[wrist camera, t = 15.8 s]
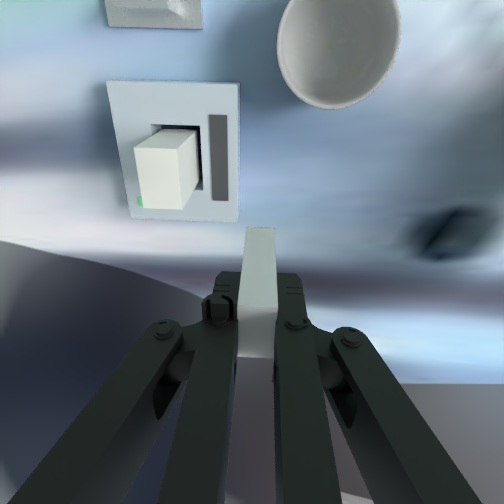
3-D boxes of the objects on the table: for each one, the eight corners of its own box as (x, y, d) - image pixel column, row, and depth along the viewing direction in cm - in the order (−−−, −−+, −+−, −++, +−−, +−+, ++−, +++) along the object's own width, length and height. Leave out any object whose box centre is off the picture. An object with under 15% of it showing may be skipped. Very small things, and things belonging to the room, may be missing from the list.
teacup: (331, 120, 39) (346, 132, 32) (255, 65, 36) (253, 66, 29) (418, -5, 32) (460, -23, 26) (334, -81, 30) (355, -125, 23)
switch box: (239, 82, 37) (237, 84, 33) (239, 210, 45) (236, 223, 41) (120, 79, 37) (104, 80, 33) (141, 206, 45) (130, 219, 42)
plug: (199, 126, 40) (176, 149, 29) (202, 174, 43) (182, 209, 32) (167, 125, 40) (133, 147, 29) (172, 173, 43) (143, 208, 32)
